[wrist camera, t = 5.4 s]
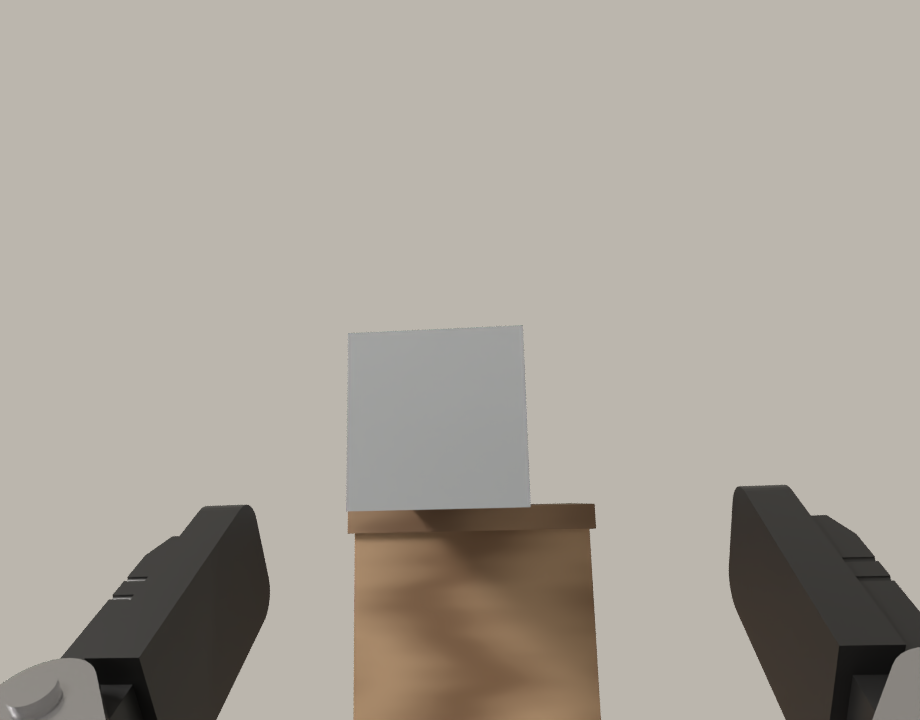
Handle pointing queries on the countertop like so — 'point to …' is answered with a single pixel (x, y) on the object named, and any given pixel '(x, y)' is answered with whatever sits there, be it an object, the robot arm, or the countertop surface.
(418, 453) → the slate bar
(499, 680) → the walnut pedestal
